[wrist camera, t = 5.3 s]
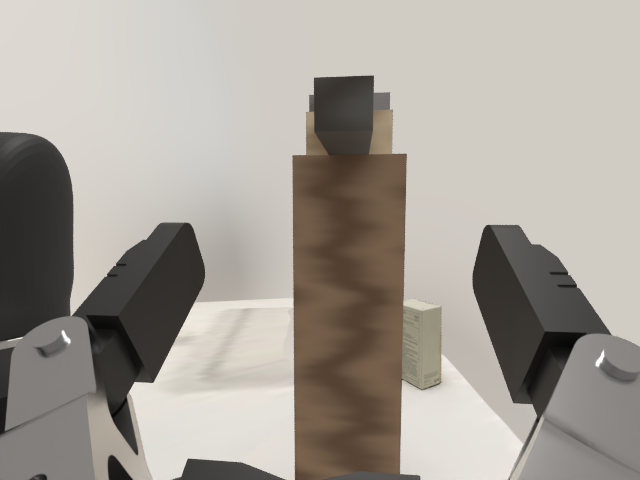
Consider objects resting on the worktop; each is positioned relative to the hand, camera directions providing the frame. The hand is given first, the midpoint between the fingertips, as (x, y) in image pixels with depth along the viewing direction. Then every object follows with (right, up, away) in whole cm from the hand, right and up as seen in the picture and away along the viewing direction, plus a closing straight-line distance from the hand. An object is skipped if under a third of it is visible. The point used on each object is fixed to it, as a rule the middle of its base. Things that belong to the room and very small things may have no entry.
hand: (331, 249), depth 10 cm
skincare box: (+15, -22, +48) cm, 55 cm away
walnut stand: (+2, -24, +23) cm, 33 cm away
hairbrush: (+2, +6, +15) cm, 17 cm away
